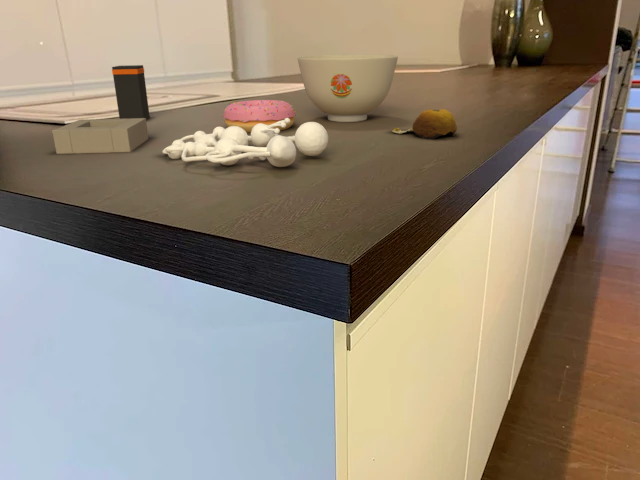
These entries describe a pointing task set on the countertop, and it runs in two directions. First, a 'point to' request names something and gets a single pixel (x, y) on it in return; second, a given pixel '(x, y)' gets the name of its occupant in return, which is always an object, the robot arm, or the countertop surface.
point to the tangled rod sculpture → (235, 141)
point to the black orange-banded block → (131, 91)
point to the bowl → (347, 83)
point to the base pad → (100, 135)
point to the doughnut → (258, 113)
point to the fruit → (432, 124)
